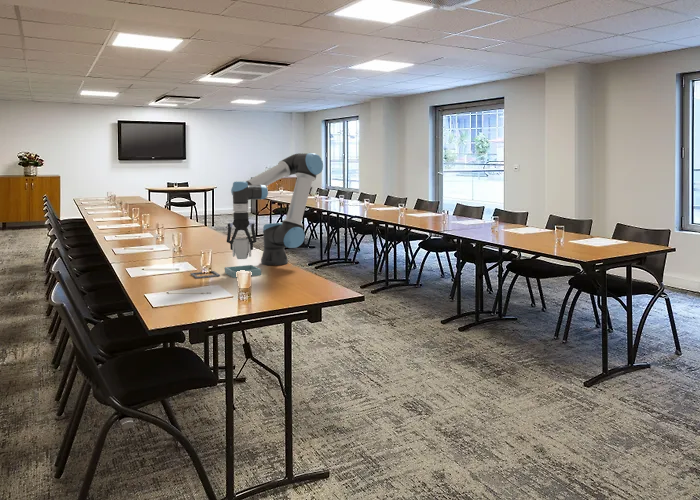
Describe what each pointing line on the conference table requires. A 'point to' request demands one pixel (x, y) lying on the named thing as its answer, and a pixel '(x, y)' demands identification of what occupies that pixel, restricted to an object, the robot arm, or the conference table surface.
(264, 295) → the conference table surface
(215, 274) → the grey flat square frame
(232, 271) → the bin
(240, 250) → the cup
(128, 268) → the conference table surface
